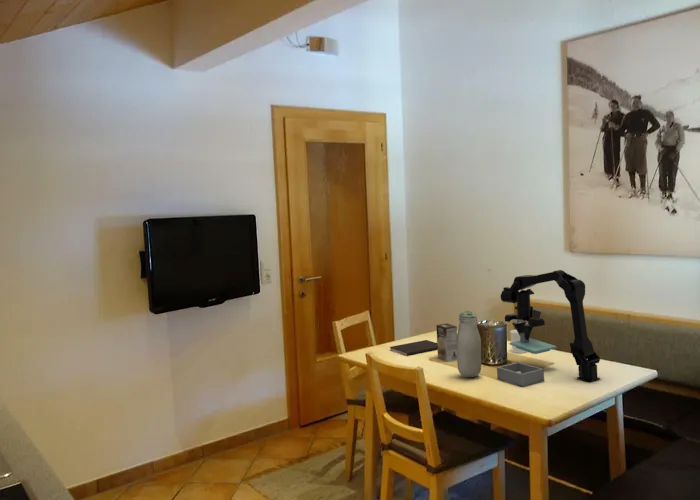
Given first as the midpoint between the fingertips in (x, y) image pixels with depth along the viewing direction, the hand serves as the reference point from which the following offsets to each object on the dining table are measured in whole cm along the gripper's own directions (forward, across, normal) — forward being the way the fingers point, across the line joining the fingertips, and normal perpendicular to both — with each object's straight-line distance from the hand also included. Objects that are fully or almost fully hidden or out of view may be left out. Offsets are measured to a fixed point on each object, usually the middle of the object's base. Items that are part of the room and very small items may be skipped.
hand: (524, 339), depth 266 cm
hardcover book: (+12, +57, +18) cm, 61 cm away
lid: (+3, -5, 0) cm, 6 cm away
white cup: (+12, +20, -16) cm, 28 cm away
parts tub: (+12, -14, +17) cm, 25 cm away
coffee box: (+12, +32, +18) cm, 39 cm away
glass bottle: (+12, +3, +29) cm, 32 cm away
